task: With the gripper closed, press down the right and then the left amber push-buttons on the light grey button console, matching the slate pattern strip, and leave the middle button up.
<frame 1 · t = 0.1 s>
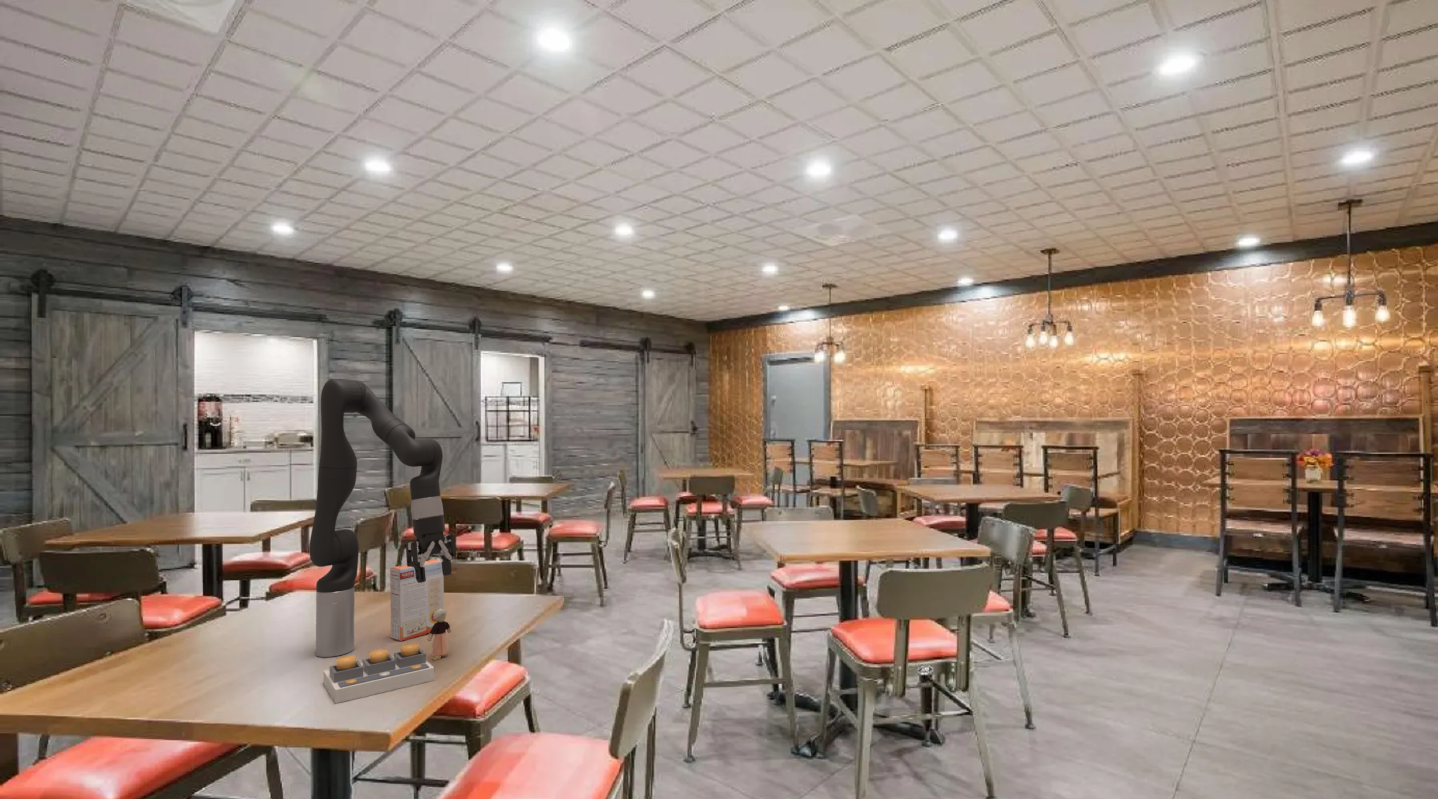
hand: (434, 578, 172), 22 cm above the table, tool pointing down, fingers open, 8 cm apart
cracker box: (417, 634, 200), on the table
middle button: (378, 655, 162), point 6 cm above the table, slide at 0.0 cm
left button: (346, 662, 158), point 6 cm above the table, slide at 0.0 cm
button console: (378, 681, 162), on the table
grandmother figurine: (440, 657, 180), on the table
right button: (409, 649, 167), point 6 cm above the table, slide at 0.0 cm
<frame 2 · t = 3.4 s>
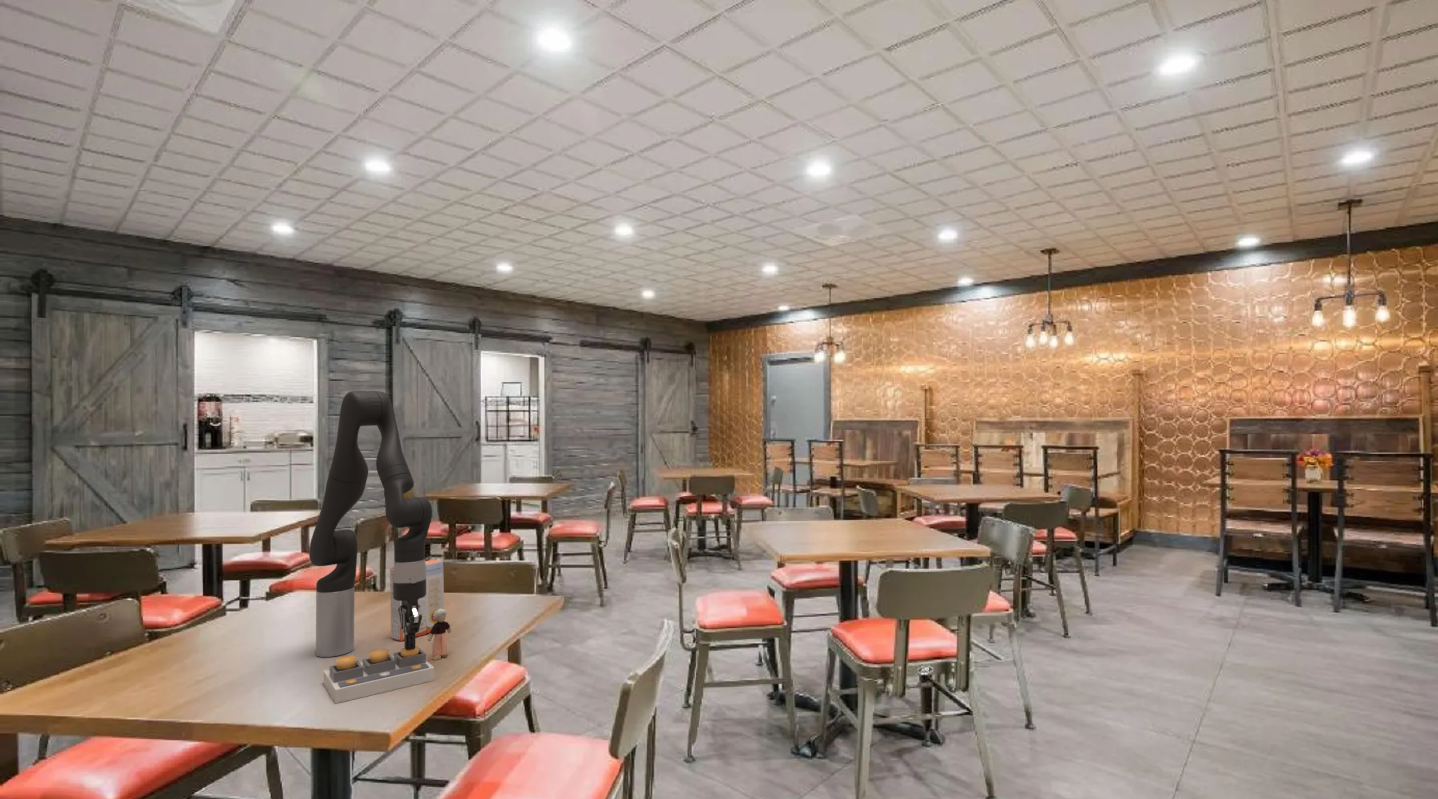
hand: (409, 648, 167), 6 cm above the table, tool pointing down, fingers closed
right button: (409, 653, 167), point 5 cm above the table, slide at 0.9 cm, touching gripper
everything else where it was.
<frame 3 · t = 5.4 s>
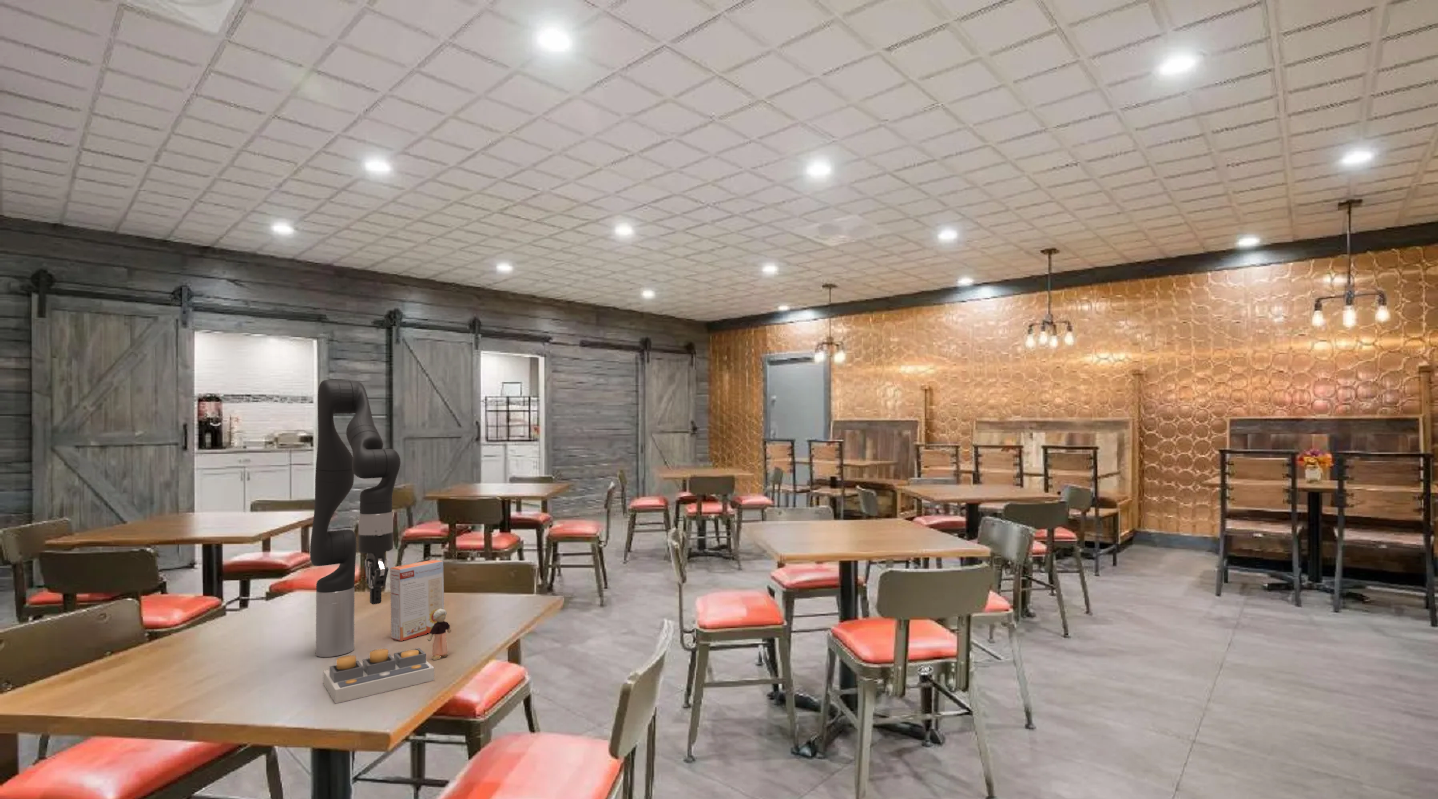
hand: (375, 603, 162), 19 cm above the table, tool pointing down, fingers closed
right button: (409, 656, 167), point 4 cm above the table, slide at 1.7 cm
everything else where it was.
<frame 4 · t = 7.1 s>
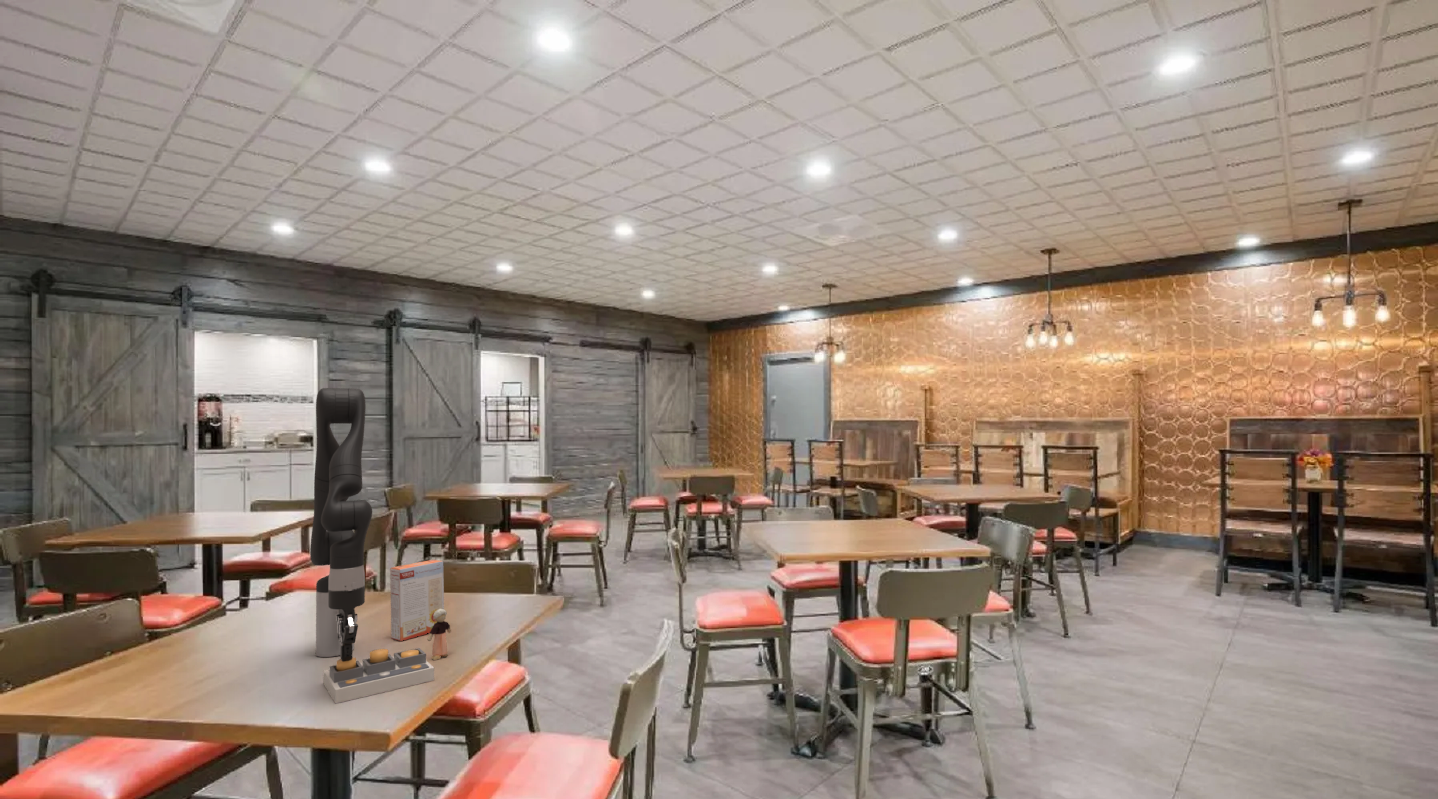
hand: (346, 660, 158), 7 cm above the table, tool pointing down, fingers closed
left button: (346, 664, 158), point 6 cm above the table, slide at 0.5 cm, touching gripper
everything else where it was.
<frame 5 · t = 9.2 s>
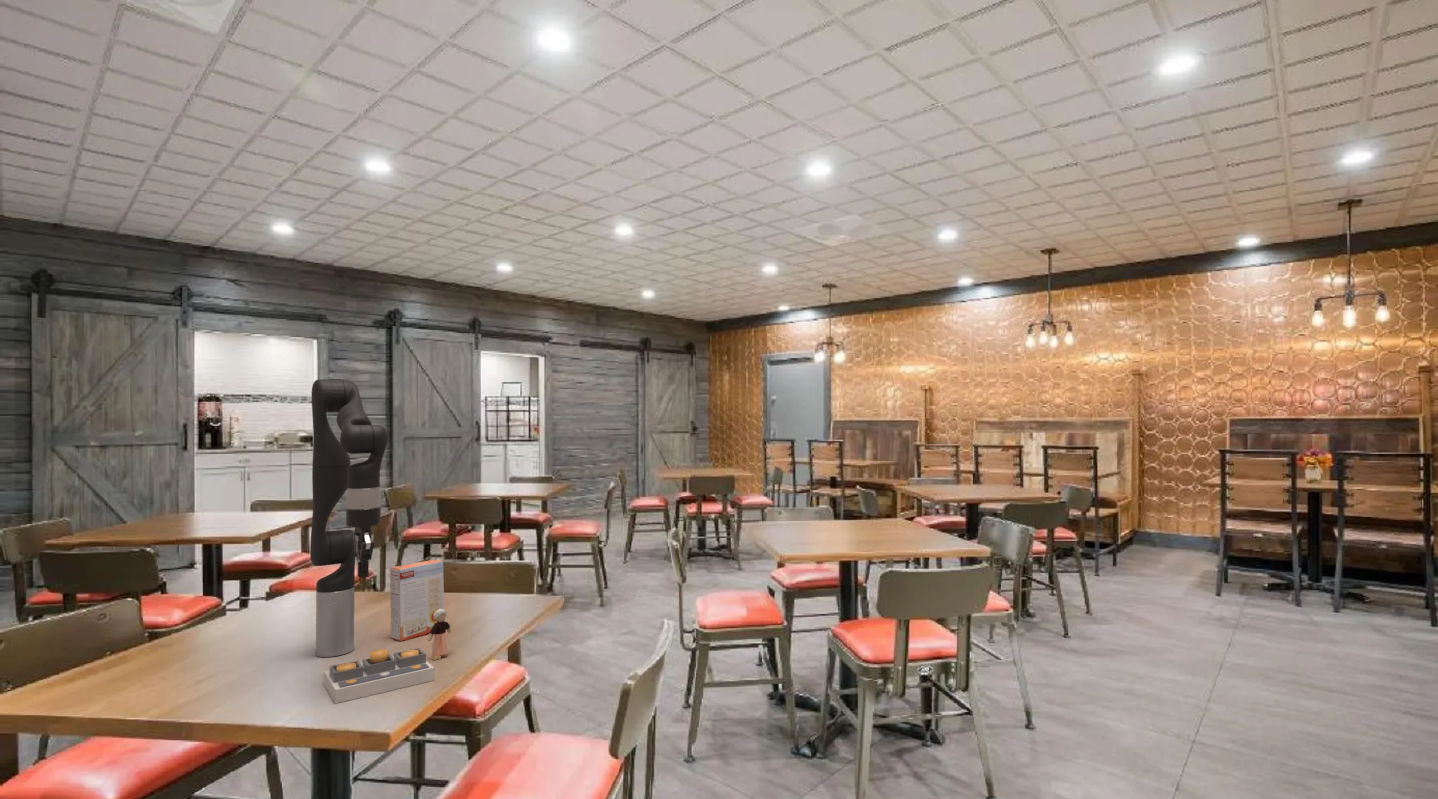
hand: (362, 576, 165), 25 cm above the table, tool pointing down, fingers closed
left button: (346, 670, 158), point 4 cm above the table, slide at 1.7 cm
everything else where it was.
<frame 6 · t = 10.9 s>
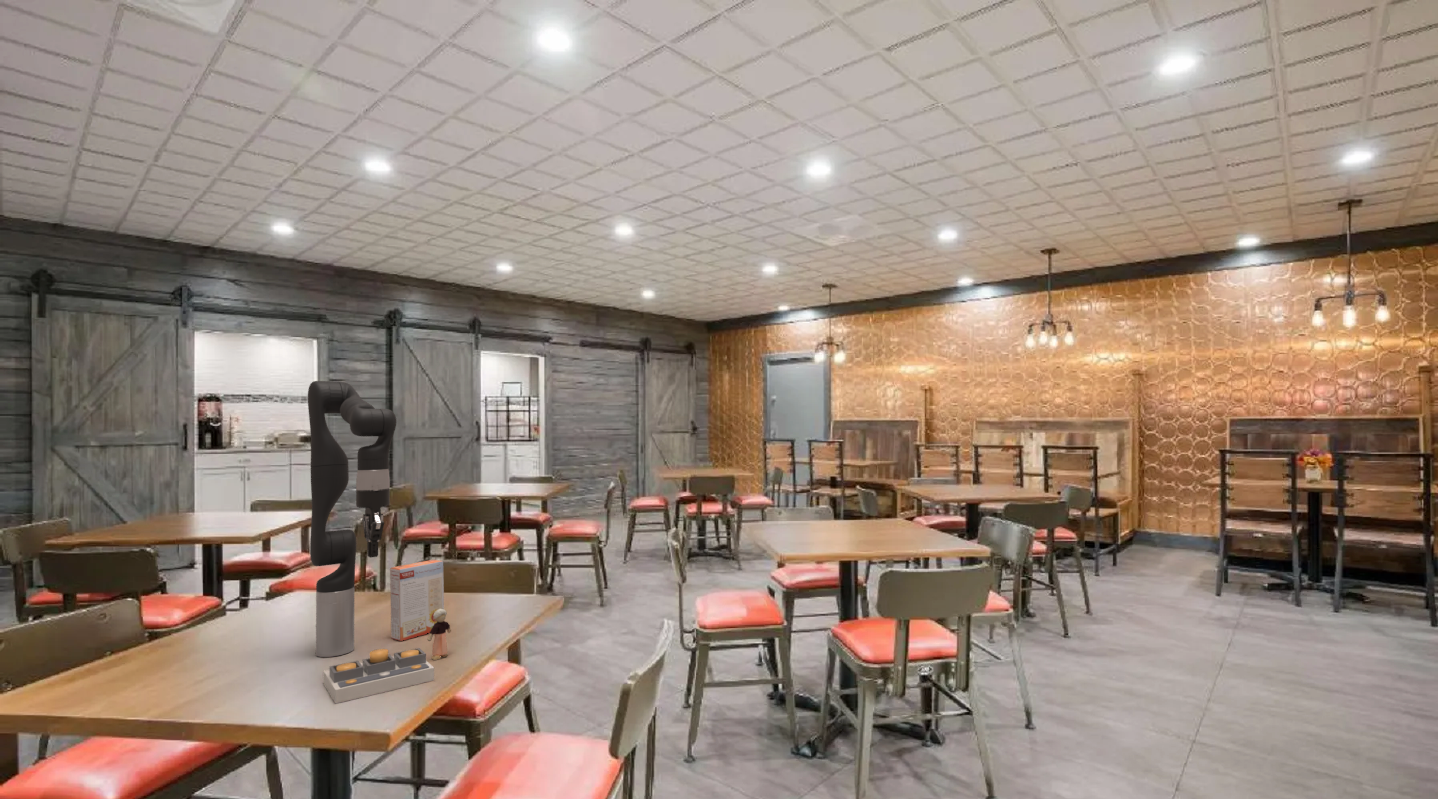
hand: (372, 556, 169), 29 cm above the table, tool pointing down, fingers closed
nothing on the table moved.
at the end: right button slide at 1.7 cm; left button slide at 1.7 cm; middle button slide at 0.0 cm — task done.
